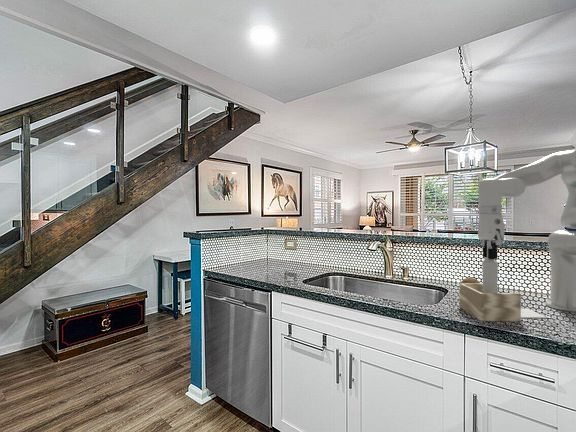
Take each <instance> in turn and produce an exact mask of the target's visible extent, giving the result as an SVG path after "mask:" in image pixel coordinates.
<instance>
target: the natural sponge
mask: <svg viewBox="0 0 576 432" xmlns="http://www.w3.org/2000/svg"><path fill="white" fill-rule="evenodd" d="M460 283H481V282H480V280H478V279H476V278H475V277H466V278H464V279H462V280H461V282H460Z"/></svg>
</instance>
